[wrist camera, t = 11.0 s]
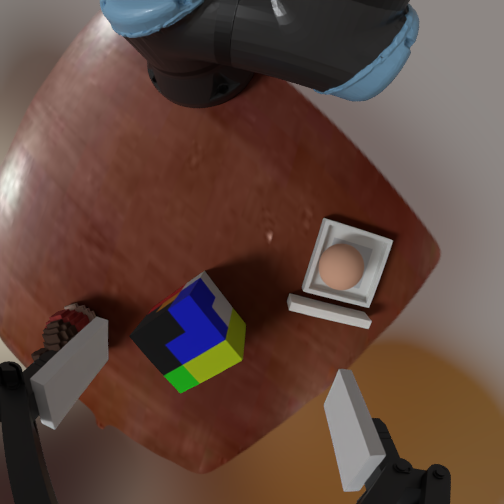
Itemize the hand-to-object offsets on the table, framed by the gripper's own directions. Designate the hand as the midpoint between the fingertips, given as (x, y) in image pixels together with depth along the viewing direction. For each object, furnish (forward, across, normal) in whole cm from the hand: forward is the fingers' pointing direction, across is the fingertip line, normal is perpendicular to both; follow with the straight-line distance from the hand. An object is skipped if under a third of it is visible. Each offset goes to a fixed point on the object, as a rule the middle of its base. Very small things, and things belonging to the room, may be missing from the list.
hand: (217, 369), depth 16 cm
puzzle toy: (+28, -5, -11) cm, 30 cm away
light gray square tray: (+28, +14, +2) cm, 31 cm away
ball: (+26, +14, +2) cm, 30 cm away
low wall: (+28, +13, -5) cm, 31 cm away
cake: (+28, -24, -18) cm, 41 cm away
